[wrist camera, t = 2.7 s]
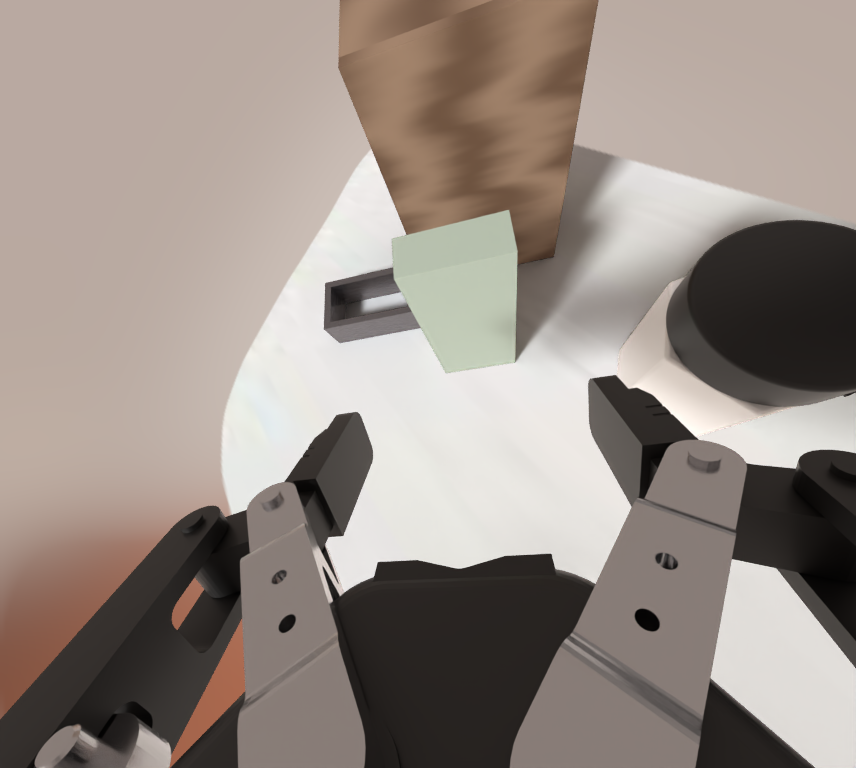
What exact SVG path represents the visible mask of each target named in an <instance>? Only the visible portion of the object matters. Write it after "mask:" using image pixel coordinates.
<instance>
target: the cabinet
mask: <svg viewBox="0 0 856 768" xmlns="http://www.w3.org/2000/svg"><path fill="white" fill-rule="evenodd" d="M597 6H598V0H340V17H339V18H340V19H339V67H338V68H339V70H340V73H341V75H342V78H343V80H344V82H345V85H346V87H347V89H348V92H349V95H350V97H351V100H352V102H353V105H354V107H355V109H356V112H357V114H358V116H359V119H360V122H361V124H362V127H363V129H364V131H365V134H366V136H367V139H368V141H369V144H370V146H371V149H372V151H373V154H374V156H375V158H376V161H377V163H378V166H379V168H380V171H381V173H382V176H383V178H384V180H385V183H386V185H387V188H388V190H389V193H390V195H391V198H392V200H393V202H394V205H395V207H396V210H397V212H398V215H399V217H400V220H401V222H402V225H403V227H404V229H405V232H406V234H407V235H409V234H413V233H417V232H421V231H425V230H429V229H433V228H437V227H441V226H445V225H449V224H453V223H458V222H462V221H466V220H470V219H474V218H478V217H482V216H486V215H490V214H494V213H498V212H502V211H506V210H509V212H510V217H511V222H512V227H513V232H514V237H515V242H516V246H517V251H518V252H517V264H522V263H526V262H531V261H536V260H540V259H545V258H550V257H554V252H555V247H556V241H557V235H558V229H559V224H560V218H561V212H562V207H563V201H564V195H565V189H566V184H567V178H568V172H569V166H570V161H571V155H572V149H573V143H574V138H575V131H576V125H577V120H578V115H579V109H580V103H581V97H582V92H583V85H584V80H585V74H586V69H587V63H588V57H589V52H590V46H591V40H592V34H593V28H594V23H595V17H596V11H597Z"/></svg>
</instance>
